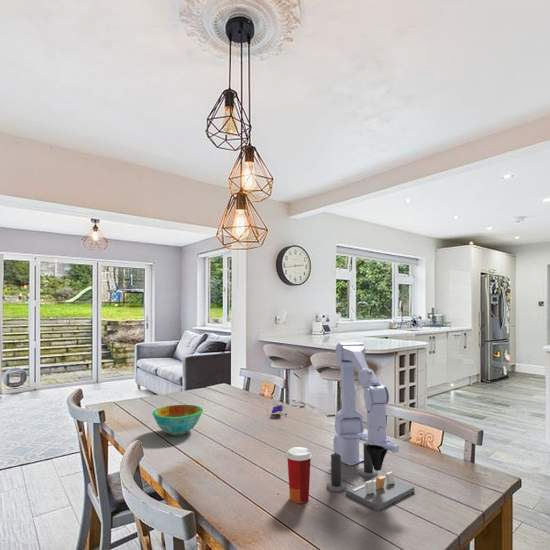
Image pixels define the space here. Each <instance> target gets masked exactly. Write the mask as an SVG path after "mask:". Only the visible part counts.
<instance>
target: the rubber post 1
mask: <svg viewBox="0 0 550 550" xmlns="http://www.w3.org/2000/svg"><path fill="white" fill-rule="evenodd" d="M341 463H342V462H341V456H340V455H339V454H334V453H331V454H330V464H331V465H330V468H331V469H330V470H331V471H330V472H331V475H330V476H331V477H330V479H331V480H329V481H327V482H326V489H327V491H329V492H332V493H342V491H343V492H345V491H346V490H345V489H347V486H346V483H345V482H344V481H342V469H341V468H342V465H341ZM344 490H345V491H344Z"/></svg>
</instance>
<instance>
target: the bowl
mask: <svg viewBox="0 0 550 550" xmlns="http://www.w3.org/2000/svg"><path fill="white" fill-rule="evenodd" d="M203 411H204V409H203V408H202V407H200V406H197V405H194V404H173V405H166V406H163V407H158V408H157V409H155V410H153V412H152V416H153V418H154V420H155V422H156V424H157V426H158V427H159V428H160V430H161V431H163V433H167V434H169V435H170V436H172V435H173V437H175V436H177V437H179V436H183V435H185V434H186V433H188V432H190V431H191V430H192V429H194V428H195V426H196V425H197V423H198V421H199V419H200V417H201V416H202V413H203Z"/></svg>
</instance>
